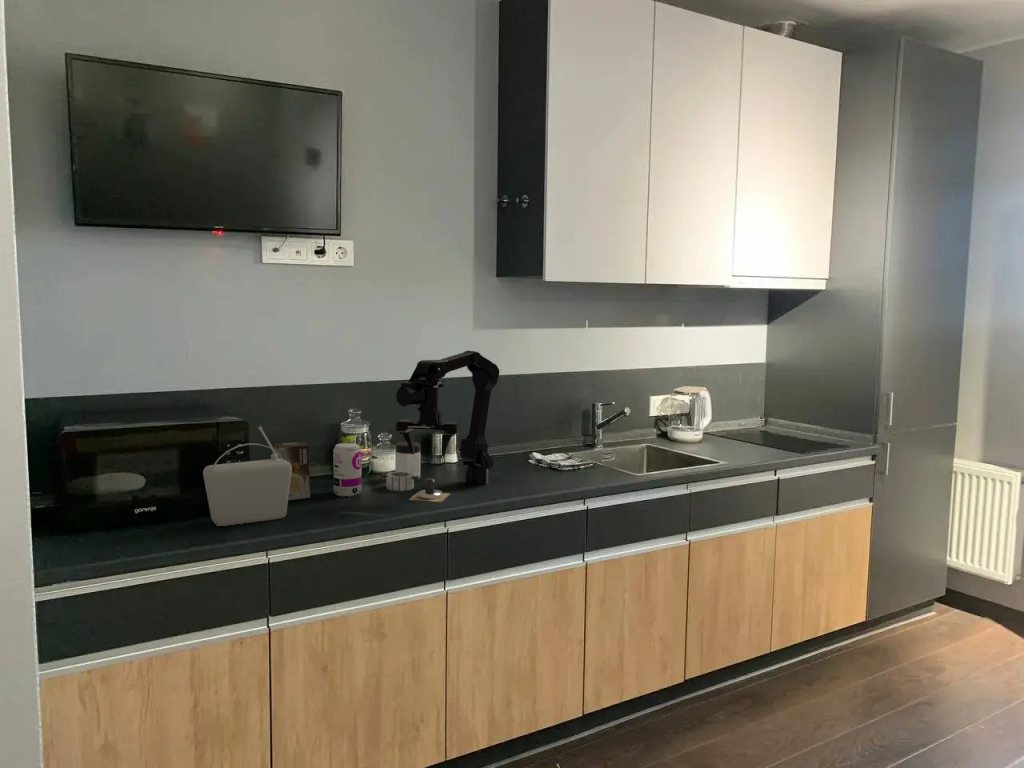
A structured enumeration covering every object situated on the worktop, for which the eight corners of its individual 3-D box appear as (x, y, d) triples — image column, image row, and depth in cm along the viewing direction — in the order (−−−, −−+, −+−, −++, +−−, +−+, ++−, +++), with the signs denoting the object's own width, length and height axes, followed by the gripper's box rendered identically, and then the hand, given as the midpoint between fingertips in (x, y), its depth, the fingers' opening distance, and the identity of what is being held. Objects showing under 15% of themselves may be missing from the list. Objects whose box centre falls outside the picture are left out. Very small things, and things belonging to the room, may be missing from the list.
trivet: (450, 495, 239) (450, 493, 239) (441, 504, 230) (441, 501, 229) (418, 493, 241) (418, 491, 241) (408, 502, 231) (408, 499, 231)
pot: (422, 488, 248) (422, 472, 248) (414, 494, 240) (414, 478, 239) (385, 485, 250) (385, 470, 250) (376, 492, 242) (376, 476, 242)
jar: (400, 483, 253) (400, 446, 252) (390, 478, 260) (390, 442, 259) (425, 480, 258) (426, 444, 257) (414, 475, 265) (414, 440, 264)
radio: (284, 510, 221) (283, 422, 218) (293, 517, 214) (292, 426, 211) (202, 521, 209) (199, 428, 206) (209, 529, 202) (206, 433, 199)
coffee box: (305, 493, 240) (305, 441, 238) (310, 498, 234) (310, 445, 232) (274, 496, 235) (273, 443, 233) (279, 501, 230) (278, 447, 228)
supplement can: (366, 491, 242) (366, 443, 241) (352, 498, 235) (352, 448, 233) (343, 489, 245) (342, 441, 243) (328, 495, 237) (328, 446, 236)
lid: (444, 494, 238) (444, 477, 237) (438, 500, 231) (438, 482, 230) (421, 492, 239) (421, 475, 239) (414, 498, 232) (414, 481, 232)
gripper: (465, 401, 239) (465, 451, 241) (406, 398, 242) (406, 448, 244) (456, 406, 228) (455, 459, 230) (394, 403, 232) (394, 455, 233)
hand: (428, 455), depth 235 cm, fingers open, 9 cm apart
